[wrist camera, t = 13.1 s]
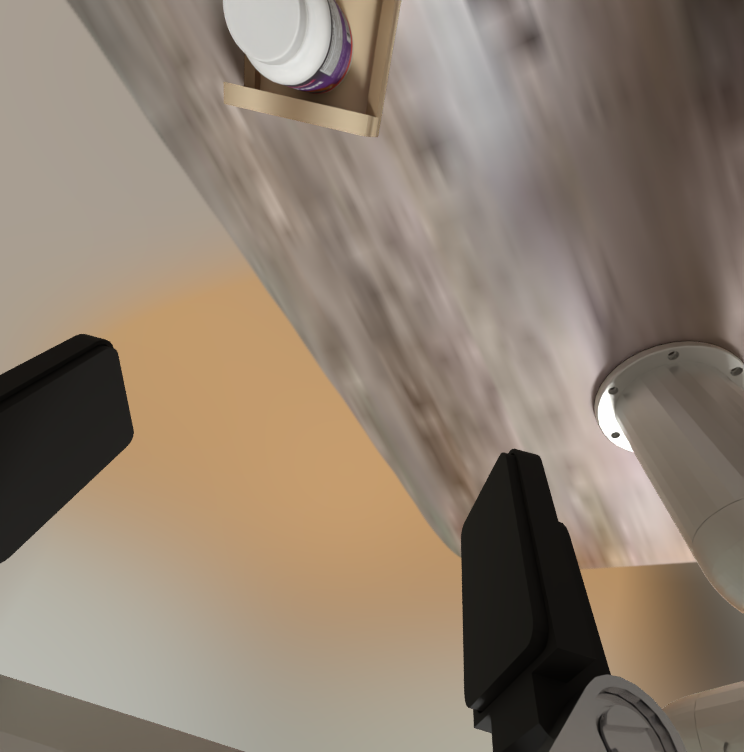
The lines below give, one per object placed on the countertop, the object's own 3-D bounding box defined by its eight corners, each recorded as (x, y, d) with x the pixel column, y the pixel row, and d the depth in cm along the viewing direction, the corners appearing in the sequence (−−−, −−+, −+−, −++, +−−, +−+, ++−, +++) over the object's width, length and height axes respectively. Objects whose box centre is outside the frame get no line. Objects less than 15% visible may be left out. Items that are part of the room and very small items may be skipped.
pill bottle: (275, 81, 28) (205, 58, 20) (287, -17, 25) (210, -91, 17) (344, 106, 28) (302, 93, 20) (364, 11, 26) (324, -49, 17)
